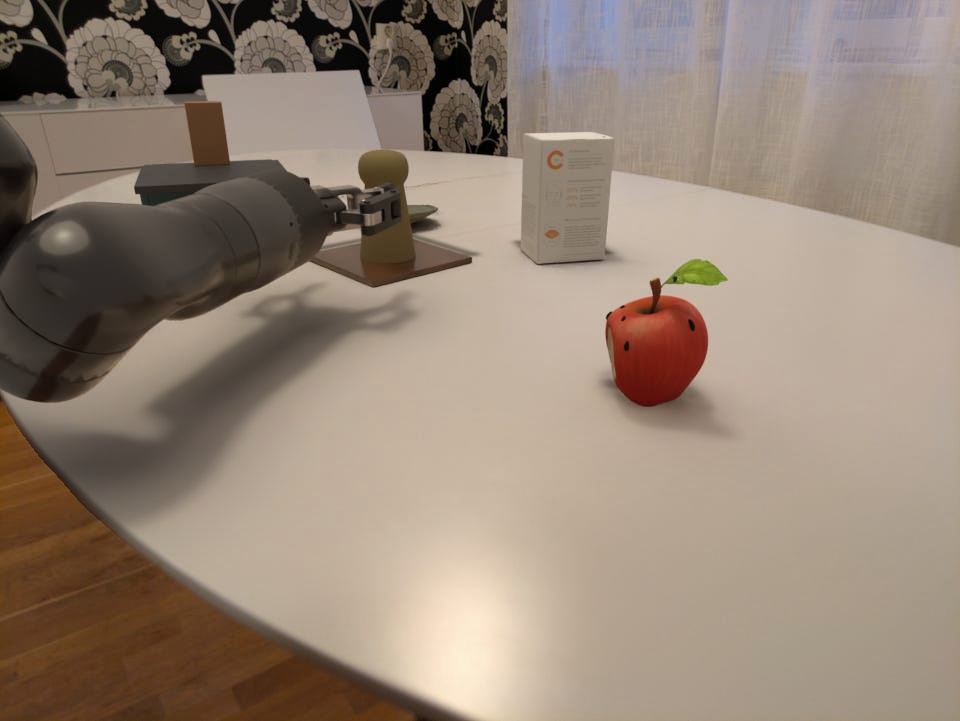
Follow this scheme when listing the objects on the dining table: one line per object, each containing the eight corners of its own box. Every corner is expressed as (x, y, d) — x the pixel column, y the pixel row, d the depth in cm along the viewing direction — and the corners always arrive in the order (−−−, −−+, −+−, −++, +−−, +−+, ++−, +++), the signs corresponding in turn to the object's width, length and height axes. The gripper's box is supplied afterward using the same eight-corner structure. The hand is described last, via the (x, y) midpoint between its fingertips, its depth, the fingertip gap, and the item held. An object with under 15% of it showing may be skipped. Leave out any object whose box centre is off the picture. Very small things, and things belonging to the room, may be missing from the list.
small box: (583, 246, 80) (592, 130, 74) (605, 260, 74) (616, 137, 69) (518, 249, 78) (522, 132, 72) (535, 265, 72) (541, 138, 67)
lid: (412, 248, 84) (421, 209, 81) (342, 221, 85) (349, 183, 83) (442, 232, 93) (451, 197, 91) (379, 208, 95) (386, 174, 92)
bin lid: (135, 194, 67) (118, 112, 64) (142, 172, 80) (129, 102, 76) (294, 185, 73) (286, 109, 69) (278, 166, 85) (271, 100, 82)
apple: (576, 403, 44) (588, 254, 40) (618, 367, 49) (633, 231, 45) (693, 438, 40) (720, 277, 36) (725, 394, 45) (752, 249, 41)
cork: (363, 265, 70) (356, 155, 65) (356, 250, 75) (349, 147, 70) (420, 261, 71) (417, 153, 67) (410, 246, 76) (406, 146, 72)
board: (373, 287, 65) (372, 281, 65) (305, 259, 74) (304, 253, 73) (472, 262, 73) (472, 257, 73) (400, 239, 82) (400, 234, 82)
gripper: (338, 183, 45) (420, 152, 59) (155, 172, 48) (275, 145, 62) (346, 290, 48) (422, 236, 62) (174, 273, 51) (284, 225, 65)
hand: (348, 191), depth 62 cm, fingers open, 8 cm apart
